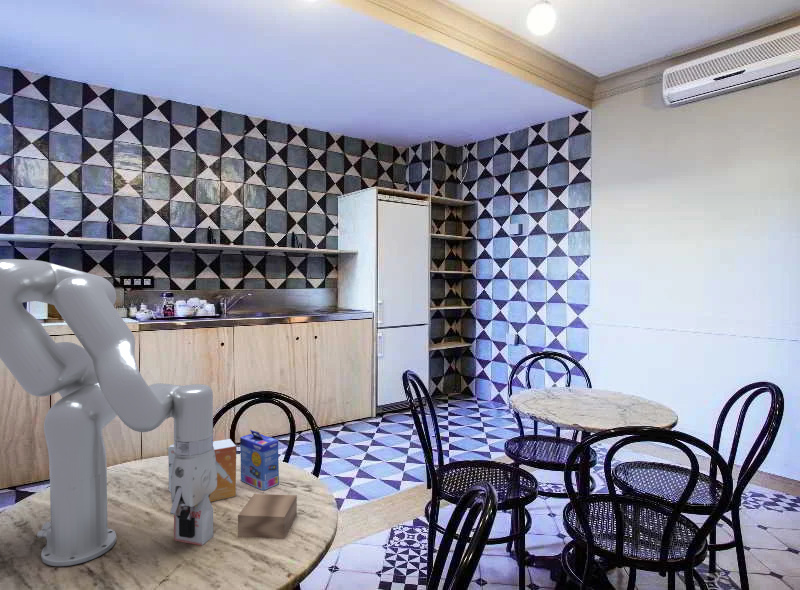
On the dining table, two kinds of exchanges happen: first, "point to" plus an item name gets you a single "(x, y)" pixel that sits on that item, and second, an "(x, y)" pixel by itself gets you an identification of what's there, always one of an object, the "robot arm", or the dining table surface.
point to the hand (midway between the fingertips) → (193, 529)
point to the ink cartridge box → (259, 460)
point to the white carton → (198, 523)
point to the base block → (267, 516)
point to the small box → (225, 470)
